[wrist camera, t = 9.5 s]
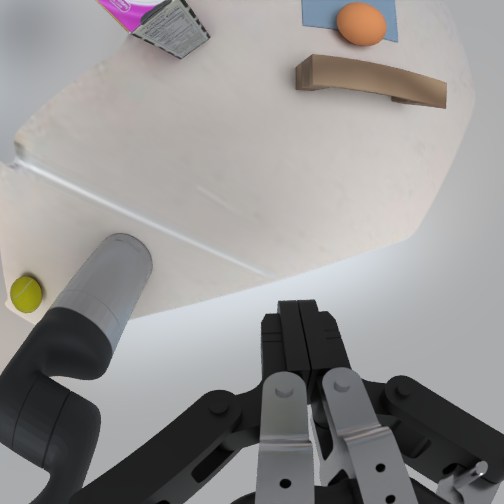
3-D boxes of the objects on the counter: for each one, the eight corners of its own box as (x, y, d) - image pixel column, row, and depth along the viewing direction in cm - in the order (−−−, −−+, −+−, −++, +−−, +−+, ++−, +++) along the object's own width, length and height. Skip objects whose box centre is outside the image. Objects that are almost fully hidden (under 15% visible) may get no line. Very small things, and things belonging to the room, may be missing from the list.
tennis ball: (52, 298, 46) (35, 321, 40) (31, 298, 46) (15, 318, 40) (38, 269, 43) (19, 290, 36) (18, 270, 43) (-1, 290, 37)
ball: (380, 54, 23) (389, 9, 18) (328, 39, 24) (335, -6, 19) (382, 50, 26) (390, 12, 22) (338, 37, 28) (344, -1, 23)
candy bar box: (131, 13, 24) (64, -26, 9) (161, -11, 22) (110, -65, 8) (180, 63, 28) (127, 35, 14) (212, 38, 27) (183, -9, 12)
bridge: (404, 103, 30) (445, 108, 22) (296, 89, 30) (312, 84, 22) (404, 83, 29) (446, 82, 20) (295, 67, 29) (312, 54, 20)
